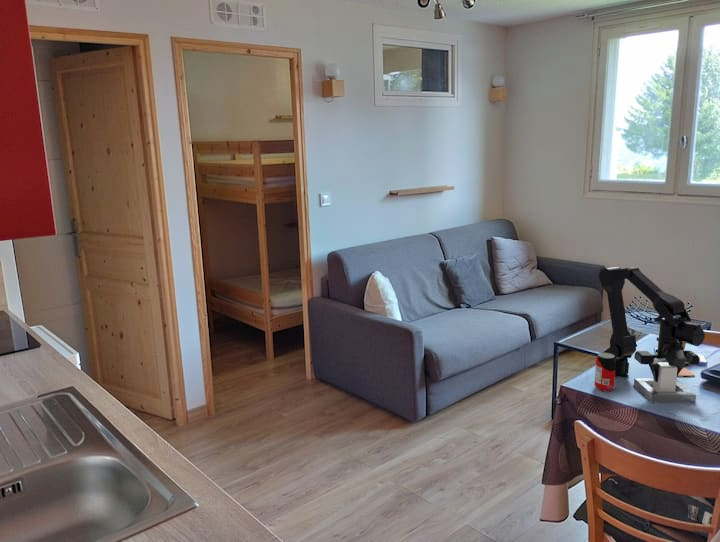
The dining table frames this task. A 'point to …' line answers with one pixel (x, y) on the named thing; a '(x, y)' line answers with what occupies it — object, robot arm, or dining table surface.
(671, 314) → the robot arm
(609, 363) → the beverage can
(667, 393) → the bore housing
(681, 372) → the terracotta tile
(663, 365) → the end plug
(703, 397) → the dining table surface
